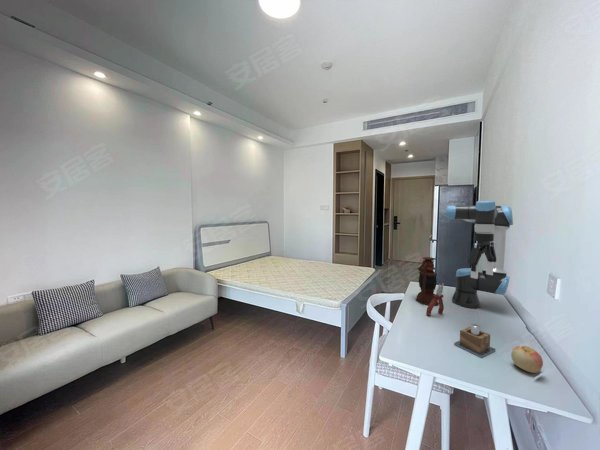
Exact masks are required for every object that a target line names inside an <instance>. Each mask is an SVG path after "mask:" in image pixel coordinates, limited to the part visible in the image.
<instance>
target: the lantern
mask: <svg viewBox="0 0 600 450" xmlns="http://www.w3.org/2000/svg"><path fill="white" fill-rule="evenodd" d="M422 259H423V261H422V262H421V265H420V267H418V268H417V270H418V274H419V277H418V286H419V288H420V292H418V294H417V295H416V298H415V301H416V302H417V303H418V304H421V305H424V306H427V307H428V306H429V304H430V303H431V301H432V300H433V298H434V296H433V295H435V294H436V293H434V292H435V290H436V289H437V288H436V287H437V275H438V274H437V273H436V271H434V270H436V268H435V258H434V257H432V256H424V257H422ZM437 306H438V307H439V302H438V301H437V302H436V304H435V305H434V307H437Z"/></svg>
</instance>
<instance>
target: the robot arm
mask: <svg viewBox="0 0 600 450" xmlns="http://www.w3.org/2000/svg"><path fill="white" fill-rule="evenodd" d="M445 217H446V218H447V220H459V221H460V220H463V221H465V222H468V223H471V224H474V226H473V227H474V232H475V233H473V234H474V235H473V237H474V238H473V240H474V241H476V242H475V243H472V248H471V251H470V255H469V258H468V261H467V263H468V264H469V265H470V267H467V268H465V267H463V268H458V269H457V270H456V271H455V273H456V274H455V291H454V293H453V296H452V297H451V302H452V303H453V304H455V305H457V306H458V307H463V308H468V309H478V308H480V307H481V302H480V299H479V296H478V292H484V293H489V294H494V295H500V296H502V295H505V294H506V293H507V290H508V287H509V281H510V276H509V275H507V273H508V272H506V271H505V268H504V267H505V252H506V238H507V237H506V236H507V230H509V229H510V226H513V225H514V218H513V211H512V207H511V206H509V205H496V201H494V200H477V201H476V202H475V205H448V206H447V207H446V210H445ZM483 254H484V256H485V257H486V258H485V260H486V261H485V267H484V268H483V269H482V271H480V272H479V265H478V264H479V261H480V259H481V257H482V255H483Z"/></svg>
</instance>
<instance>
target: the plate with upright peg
mask: <svg viewBox="0 0 600 450" xmlns="http://www.w3.org/2000/svg"><path fill="white" fill-rule="evenodd" d="M470 327H471V334H473V335H476V336H479V330H480V326H479V325H477V324H473V323H472V324H471V325H470ZM480 331H481V330H480ZM453 346H456V347H458V348H460V349H461V350H463V351H466V352H468V353H470V354H471V355H475V356H476V357H479V358H480V359H483V358H484V357H487V356H489V355H490V354H493V353H494V352H496V348H494V347H492V346H490V348H489V349H486V350H484V351H482V352H480V353H479V352H477V351H475V350H472V349H470V348H468V347H466V346H464V345H462V344H460V340H457V341H455V342H454V344H453Z"/></svg>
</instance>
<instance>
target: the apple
mask: <svg viewBox="0 0 600 450" xmlns="http://www.w3.org/2000/svg"><path fill="white" fill-rule="evenodd" d="M510 353H511V355H510V356H511V360H512V361H513V364H515V366H517V367H519V368H520V369H521V370H524V371H525V372H527V373H531V374H536V373H538V372H540V371H541V370H542V368H543V366H544V361H543V358H542V356H541V354H539V353H538V352H537V350H535V349H534V348H532V347H530V346H527V345H518V346H514V347H513V348H512V350H511V352H510Z"/></svg>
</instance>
